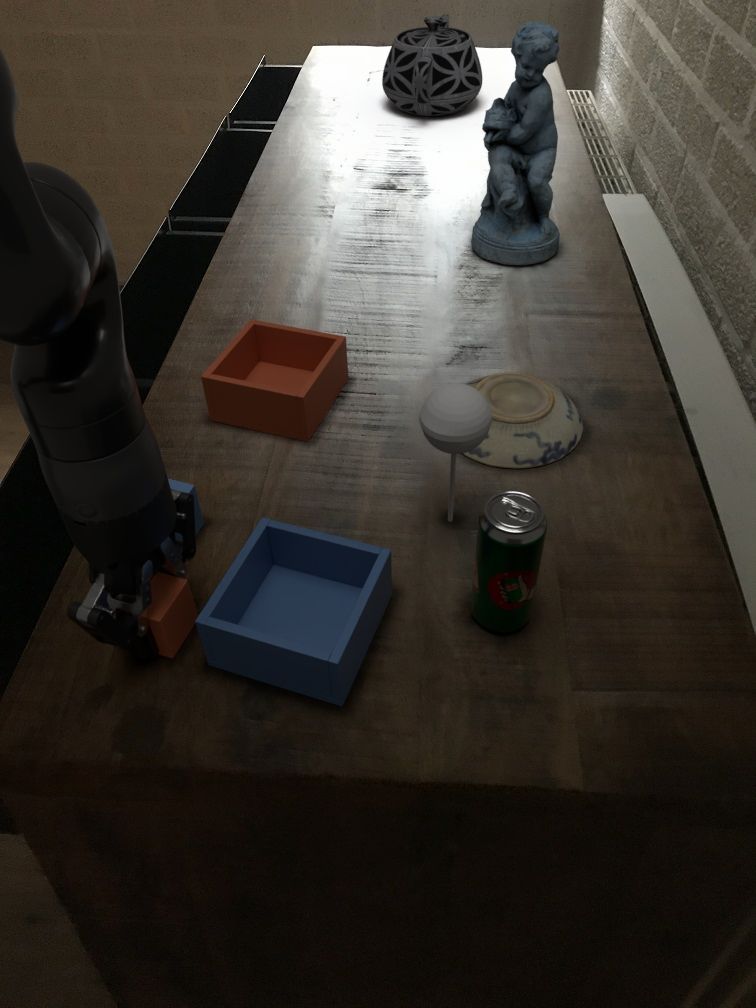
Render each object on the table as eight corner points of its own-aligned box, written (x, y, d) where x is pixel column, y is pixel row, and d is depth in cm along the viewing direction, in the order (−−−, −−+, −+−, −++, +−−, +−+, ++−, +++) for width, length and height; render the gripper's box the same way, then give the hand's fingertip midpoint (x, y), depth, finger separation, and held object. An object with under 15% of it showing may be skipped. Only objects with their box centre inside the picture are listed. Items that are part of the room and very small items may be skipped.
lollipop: (452, 488, 78) (459, 359, 67) (496, 521, 74) (510, 390, 64) (404, 518, 75) (404, 389, 64) (448, 553, 72) (455, 423, 61)
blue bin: (208, 665, 64) (194, 621, 60) (270, 562, 71) (262, 516, 67) (342, 707, 61) (337, 664, 57) (392, 594, 68) (391, 549, 64)
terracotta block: (126, 644, 65) (110, 606, 62) (154, 604, 68) (140, 566, 65) (172, 659, 64) (159, 621, 61) (199, 617, 67) (188, 579, 64)
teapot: (489, 80, 164) (495, -4, 154) (471, 134, 143) (476, 41, 133) (399, 76, 168) (398, -6, 157) (368, 129, 146) (365, 37, 136)
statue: (472, 287, 112) (490, 125, 87) (462, 168, 122) (476, -9, 97) (559, 284, 112) (602, 120, 87) (542, 165, 121) (577, -14, 96)
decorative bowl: (611, 424, 84) (503, 364, 92) (617, 396, 82) (506, 337, 90) (517, 492, 77) (410, 421, 85) (521, 464, 75) (410, 394, 83)
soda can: (486, 580, 69) (497, 478, 61) (540, 602, 67) (559, 501, 59) (459, 620, 66) (468, 520, 58) (515, 645, 64) (532, 545, 56)
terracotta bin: (210, 420, 86) (200, 376, 82) (257, 361, 94) (250, 318, 90) (308, 442, 83) (303, 397, 79) (348, 379, 91) (346, 336, 87)
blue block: (139, 545, 73) (125, 506, 70) (164, 512, 76) (152, 474, 73) (181, 556, 72) (169, 518, 69) (204, 523, 75) (194, 484, 72)
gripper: (120, 406, 60) (167, 557, 72) (-6, 538, 50) (73, 687, 62) (208, 426, 58) (242, 578, 70) (94, 567, 48) (156, 715, 60)
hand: (162, 628), depth 66 cm, fingers closed on terracotta block, 4 cm apart
